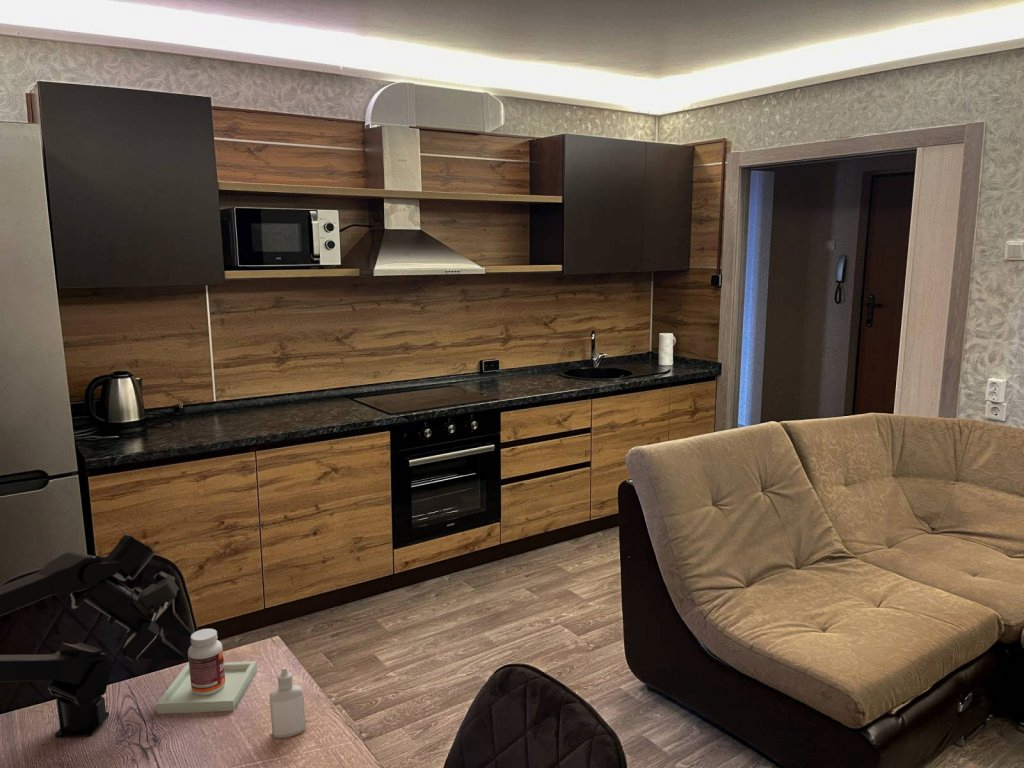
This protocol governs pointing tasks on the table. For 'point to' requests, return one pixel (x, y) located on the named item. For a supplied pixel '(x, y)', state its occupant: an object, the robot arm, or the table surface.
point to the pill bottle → (206, 662)
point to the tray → (225, 699)
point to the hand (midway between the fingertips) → (186, 647)
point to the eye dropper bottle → (287, 707)
